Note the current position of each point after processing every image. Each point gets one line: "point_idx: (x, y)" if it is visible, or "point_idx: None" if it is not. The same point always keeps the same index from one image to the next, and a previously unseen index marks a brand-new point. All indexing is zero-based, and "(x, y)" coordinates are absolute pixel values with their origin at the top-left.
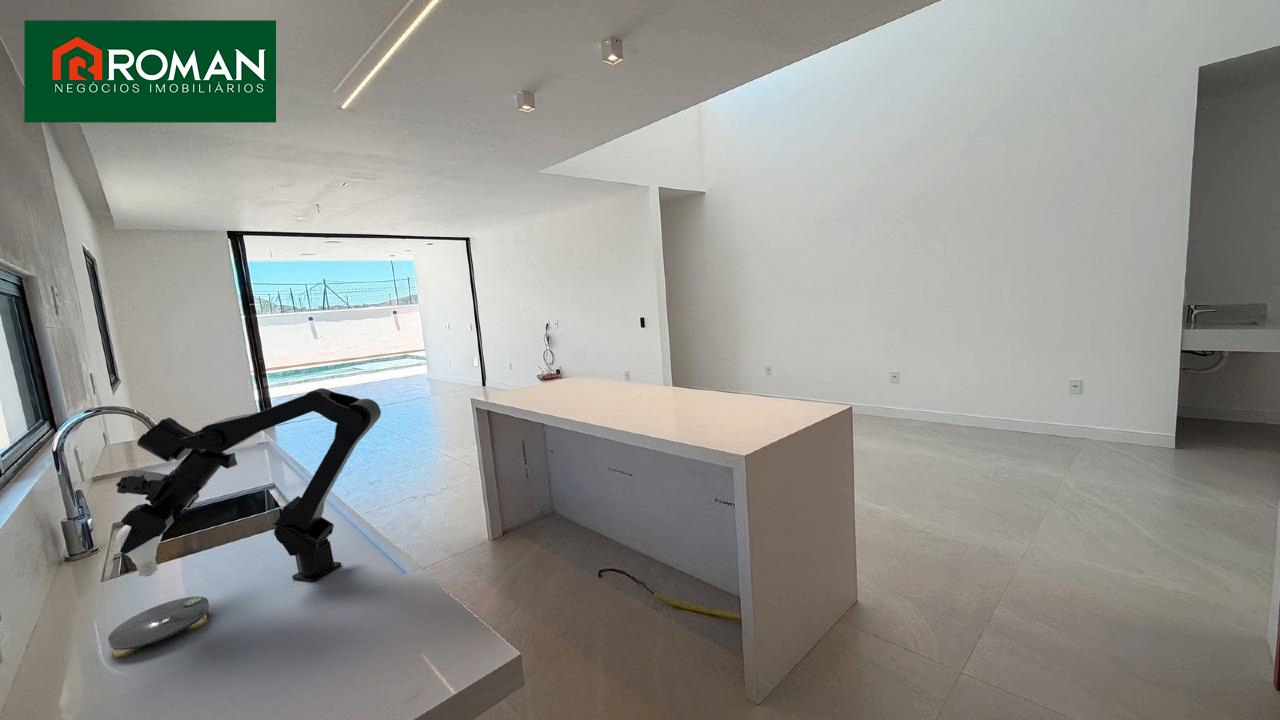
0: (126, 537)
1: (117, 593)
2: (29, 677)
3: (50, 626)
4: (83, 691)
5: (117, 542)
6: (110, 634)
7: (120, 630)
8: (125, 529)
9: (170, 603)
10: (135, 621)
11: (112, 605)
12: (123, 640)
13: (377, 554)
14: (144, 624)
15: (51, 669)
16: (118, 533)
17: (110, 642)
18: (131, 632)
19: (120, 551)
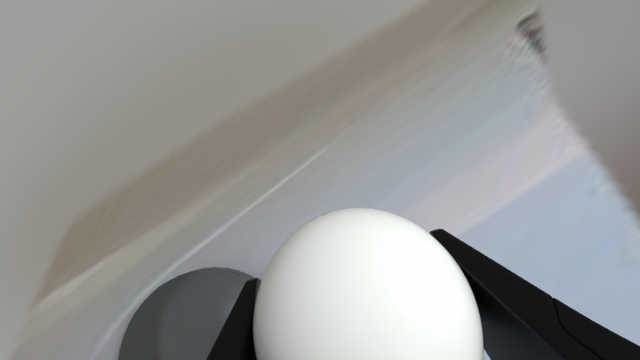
0: (253, 334)
1: (443, 106)
2: (160, 171)
3: (338, 66)
4: (67, 314)
5: (270, 260)
6: (181, 276)
7: (189, 289)
8: (284, 329)
9: None
10: (217, 300)
11: (386, 136)
12: (138, 329)
13: None
14: (193, 335)
15: (170, 193)
16: (291, 264)
17: (143, 302)
18: (168, 325)
19: (247, 282)
